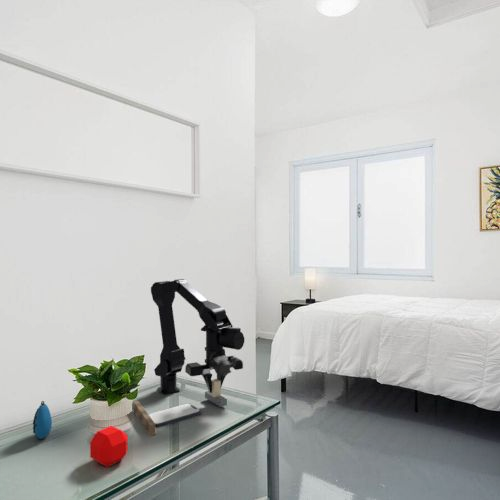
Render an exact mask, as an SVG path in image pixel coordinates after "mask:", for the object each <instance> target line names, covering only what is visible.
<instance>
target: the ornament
mask: <svg viewBox="0 0 500 500" xmlns="http://www.w3.org/2000/svg"><path fill="white" fill-rule="evenodd" d="M33 416H34V417H33V422H32V430H33V434H34V437H36V438H38V439H39V440H40V439H41V440H43V439H45V438H47V436H49V434H50V433H51V430H52V426H53V425H52V423H53V421H52V414H51V411H50V409H49V406H48V405H47V404H46V403H45V401H44V400H42V401H41V403H40V405H39V406H38V408H37V409H36V411H35V413H34V415H33Z"/></svg>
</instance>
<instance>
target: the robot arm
mask: <svg viewBox="0 0 500 500" xmlns="http://www.w3.org/2000/svg"><path fill="white" fill-rule="evenodd" d="M176 293H177V294H178V295H180V296H181V297H182V298H183V299H184V300H185V301H186V302H187V303H188V304H189V305H190V306H192V307H193V308H194V310H196V312H197V313H198V316H199V318H200V319H201V321H202V322H203V323H204V325H203V327H201V328H200V331H201V332H205V346H204V351H205V359H204V363H205V364H200V363H199V362H195V361H194V362H189V363H188V362H187V364H186V365H185V360H186V357H185V349H184V348H180V346H179V345H178V342H177V341H178V340H177V333H176V327H175V326H176V325H175V316H174V310H173V309H174V308H173V304H174V300H175V298H176ZM150 294H151V297H152V301H153V302H154V303H155V305H156V306H157V309H158V316H159V322H160V324H159V325H160V331H161V333H160V334H161V340H162V346H163V347H162V350H161V352H160V355H159V363H158V364H157V366H156V367H155V369H153V370H154V374H155V376H156V377H160V379H159V380H160V386H159V387H157V391H158V392H160V393H161V395H167V394H172V393H177V392H180V391H181V390H180V389H179V388H178V387H177V373H181V372H182V369H183V366H184V365H185V367H184V368H185V369H184V371H185V373H186V374H187V375H189V376H190V377H198V376H202V378H203V379H204V382H205V384H206V387H207V391H209V392H210V393H212V383H211V380H212V378H213V374H212V373H211V370H214V372H215V374H216V379H218V380H220V381H221V388H222V386H223V383H224V381H225V378H226V376H227V375H229V374H231V373H232V370H231V369H233V370H237V371H239V370H243V368H244V361H243V360H241V359H240V358H238V357H236V356H235V355H228V356H227V355H226V350H225V349H232V350H238V351H240V350H242V349H243V347H244V344H245V336H244V333H243V332H242V330H241V327H233V324H232V322H231V321H230V319H229V316H228V315H227V311H226V310H225V309H224V307H222V306H220V305H218V304H217V303H214V302H211V301H210V300H208V299H206V298H205V297H204V296H203V295H202V294H201V293H200V292H199V291H198V290H196V289H195V288H194V287H193V286H192V285H191V284H189V282H188V281H187V280H186V279H184V278H180V279H174V280H171V281H170V280H165V281H164V280H163V281H156V282H153V284H152V285H151V287H150Z"/></svg>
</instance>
